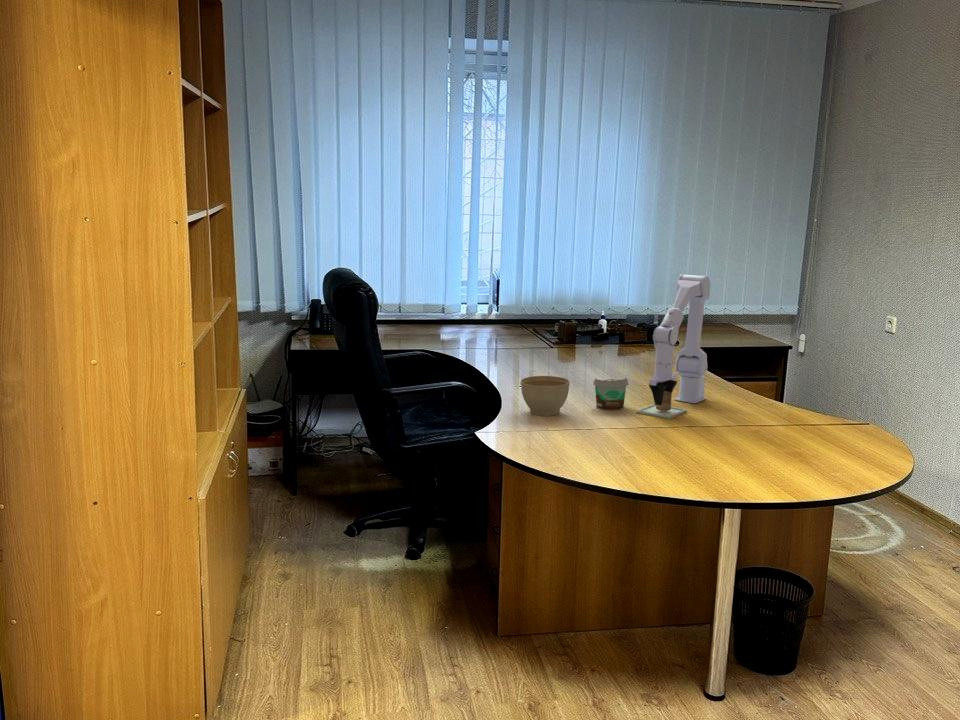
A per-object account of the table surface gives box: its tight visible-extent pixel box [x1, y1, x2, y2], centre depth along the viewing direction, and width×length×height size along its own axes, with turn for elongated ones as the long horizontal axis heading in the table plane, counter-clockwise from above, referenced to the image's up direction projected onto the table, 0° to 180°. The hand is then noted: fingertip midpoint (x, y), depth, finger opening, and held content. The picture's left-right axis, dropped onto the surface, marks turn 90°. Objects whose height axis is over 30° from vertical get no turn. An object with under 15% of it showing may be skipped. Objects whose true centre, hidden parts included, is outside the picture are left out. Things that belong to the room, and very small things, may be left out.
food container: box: [592, 376, 629, 411], centre depth 297 cm, size 12×6×10 cm, turn 105°
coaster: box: [636, 403, 688, 420], centre depth 293 cm, size 12×12×1 cm
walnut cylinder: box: [656, 391, 673, 411], centre depth 292 cm, size 5×5×6 cm
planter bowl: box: [520, 375, 571, 417], centre depth 290 cm, size 16×16×11 cm
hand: (662, 403), depth 292 cm, fingers closed on walnut cylinder, 5 cm apart
